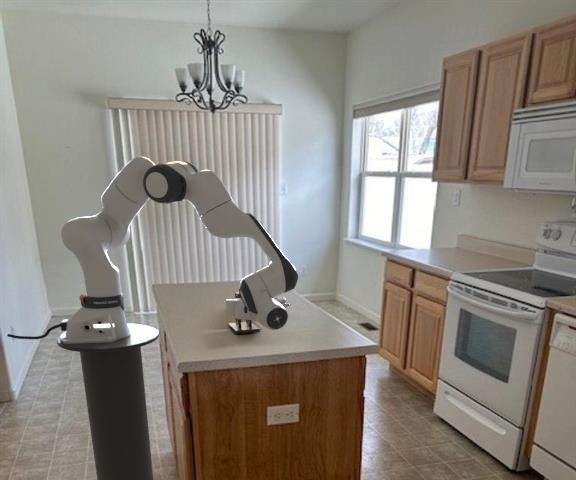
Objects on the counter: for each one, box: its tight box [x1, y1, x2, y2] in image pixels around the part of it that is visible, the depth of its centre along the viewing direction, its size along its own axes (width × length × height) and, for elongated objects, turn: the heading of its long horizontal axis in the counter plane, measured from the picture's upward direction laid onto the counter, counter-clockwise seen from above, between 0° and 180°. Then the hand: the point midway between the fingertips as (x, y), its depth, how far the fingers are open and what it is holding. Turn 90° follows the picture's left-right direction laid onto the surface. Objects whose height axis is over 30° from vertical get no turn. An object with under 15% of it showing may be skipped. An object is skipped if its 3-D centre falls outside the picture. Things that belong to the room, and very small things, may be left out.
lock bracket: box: [227, 291, 261, 335], centre depth 197 cm, size 12×9×14 cm
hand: (250, 299), depth 186 cm, fingers closed on latch lever, 3 cm apart
